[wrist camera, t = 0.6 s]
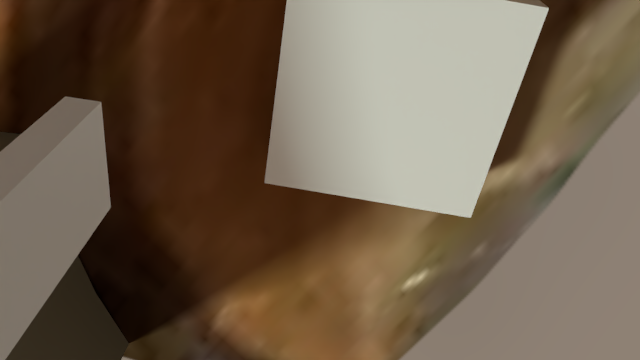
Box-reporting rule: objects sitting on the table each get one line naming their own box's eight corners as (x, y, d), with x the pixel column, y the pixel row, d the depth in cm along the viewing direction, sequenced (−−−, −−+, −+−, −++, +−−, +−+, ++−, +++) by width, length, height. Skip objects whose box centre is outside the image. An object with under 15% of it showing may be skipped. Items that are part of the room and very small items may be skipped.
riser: (297, -53, 30) (289, -41, 27) (530, -12, 30) (551, 6, 27) (271, 153, 37) (262, 184, 33) (461, 185, 37) (471, 219, 34)
